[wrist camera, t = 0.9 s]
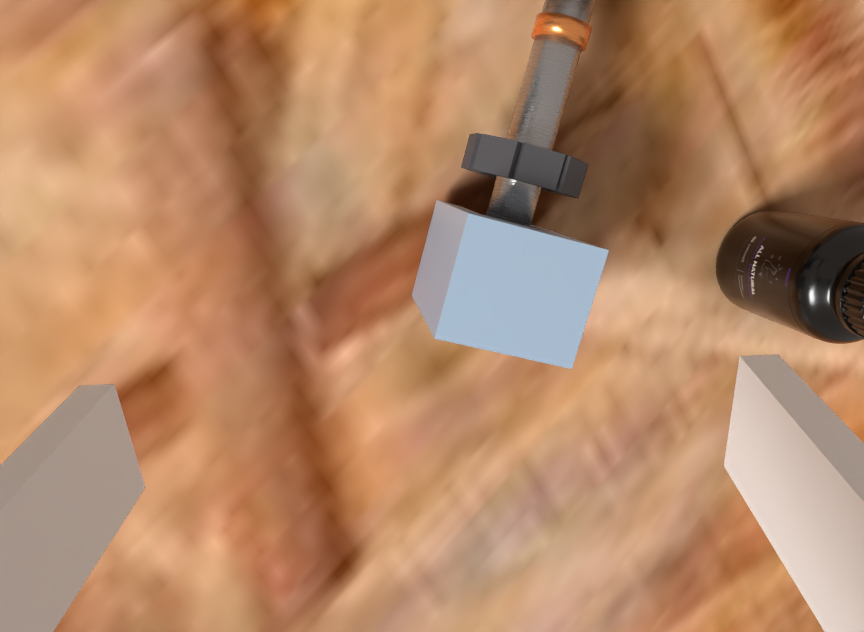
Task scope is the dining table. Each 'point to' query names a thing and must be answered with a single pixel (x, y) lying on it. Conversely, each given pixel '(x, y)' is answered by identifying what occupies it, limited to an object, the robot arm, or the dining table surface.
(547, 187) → the ring
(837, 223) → the supplement bottle
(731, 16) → the dining table surface
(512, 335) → the sleeve
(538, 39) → the pipe rig
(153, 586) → the dining table surface
